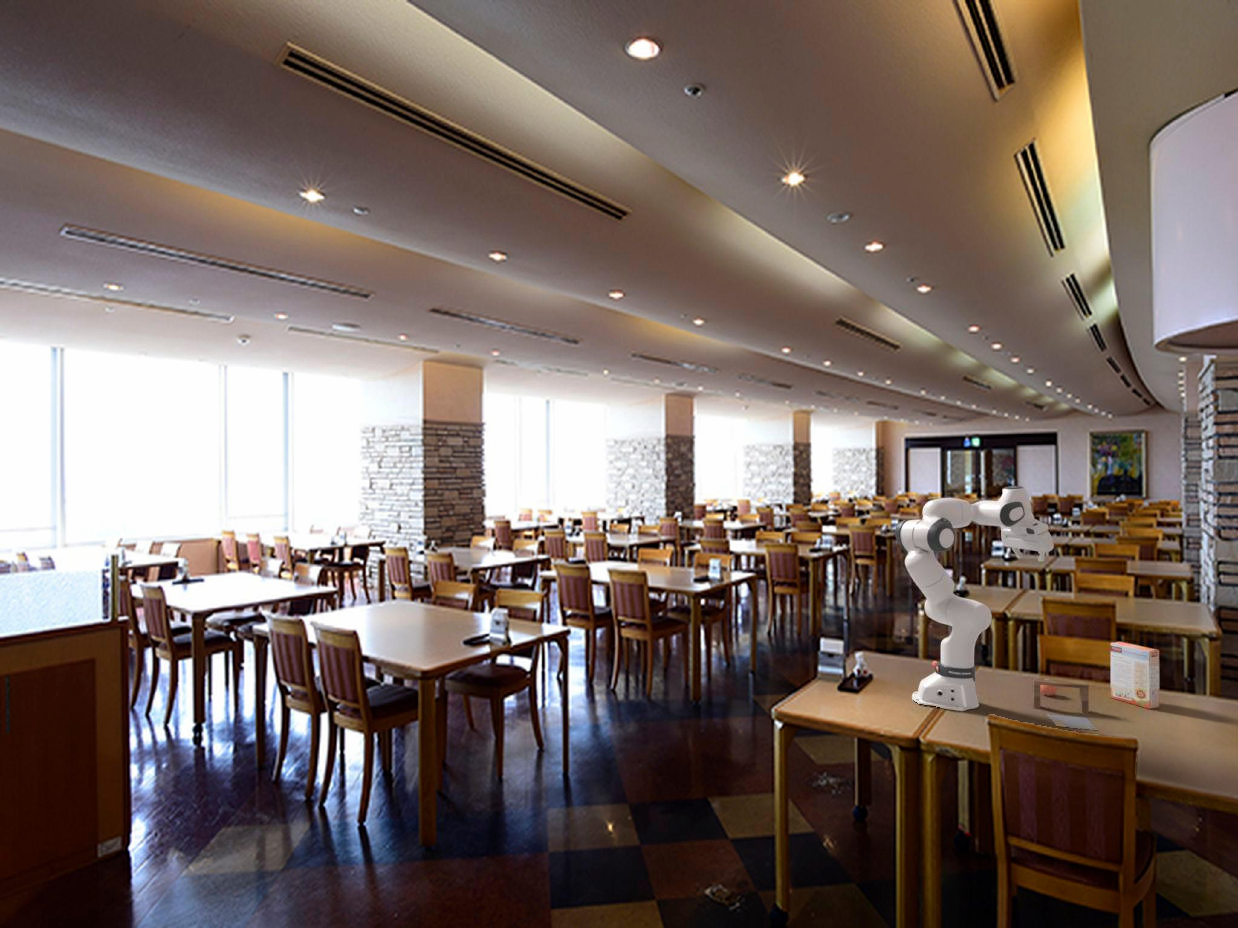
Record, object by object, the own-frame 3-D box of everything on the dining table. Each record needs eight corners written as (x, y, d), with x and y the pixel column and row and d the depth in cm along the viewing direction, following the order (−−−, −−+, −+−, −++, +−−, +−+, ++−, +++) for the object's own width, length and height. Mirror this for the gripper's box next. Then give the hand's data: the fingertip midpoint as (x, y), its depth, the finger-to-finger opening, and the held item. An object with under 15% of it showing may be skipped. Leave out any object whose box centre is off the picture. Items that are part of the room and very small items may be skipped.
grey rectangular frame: (1088, 712, 252) (1088, 685, 252) (1034, 707, 257) (1033, 680, 257) (1085, 709, 255) (1085, 682, 255) (1032, 705, 260) (1031, 678, 260)
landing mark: (1056, 726, 239) (1056, 726, 239) (1046, 714, 250) (1046, 714, 250) (1097, 730, 235) (1097, 730, 235) (1086, 718, 246) (1086, 717, 246)
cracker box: (1160, 707, 257) (1160, 649, 257) (1149, 709, 255) (1149, 651, 255) (1120, 695, 270) (1120, 640, 270) (1109, 697, 268) (1109, 642, 268)
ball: (1041, 696, 269) (1041, 680, 269) (1037, 691, 275) (1037, 676, 275) (1059, 698, 267) (1059, 682, 267) (1054, 693, 273) (1054, 677, 273)
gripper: (994, 526, 284) (1002, 558, 286) (1040, 531, 265) (1048, 566, 266) (1005, 520, 286) (1013, 552, 288) (1052, 525, 267) (1060, 559, 268)
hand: (1030, 559), depth 277 cm, fingers open, 8 cm apart
